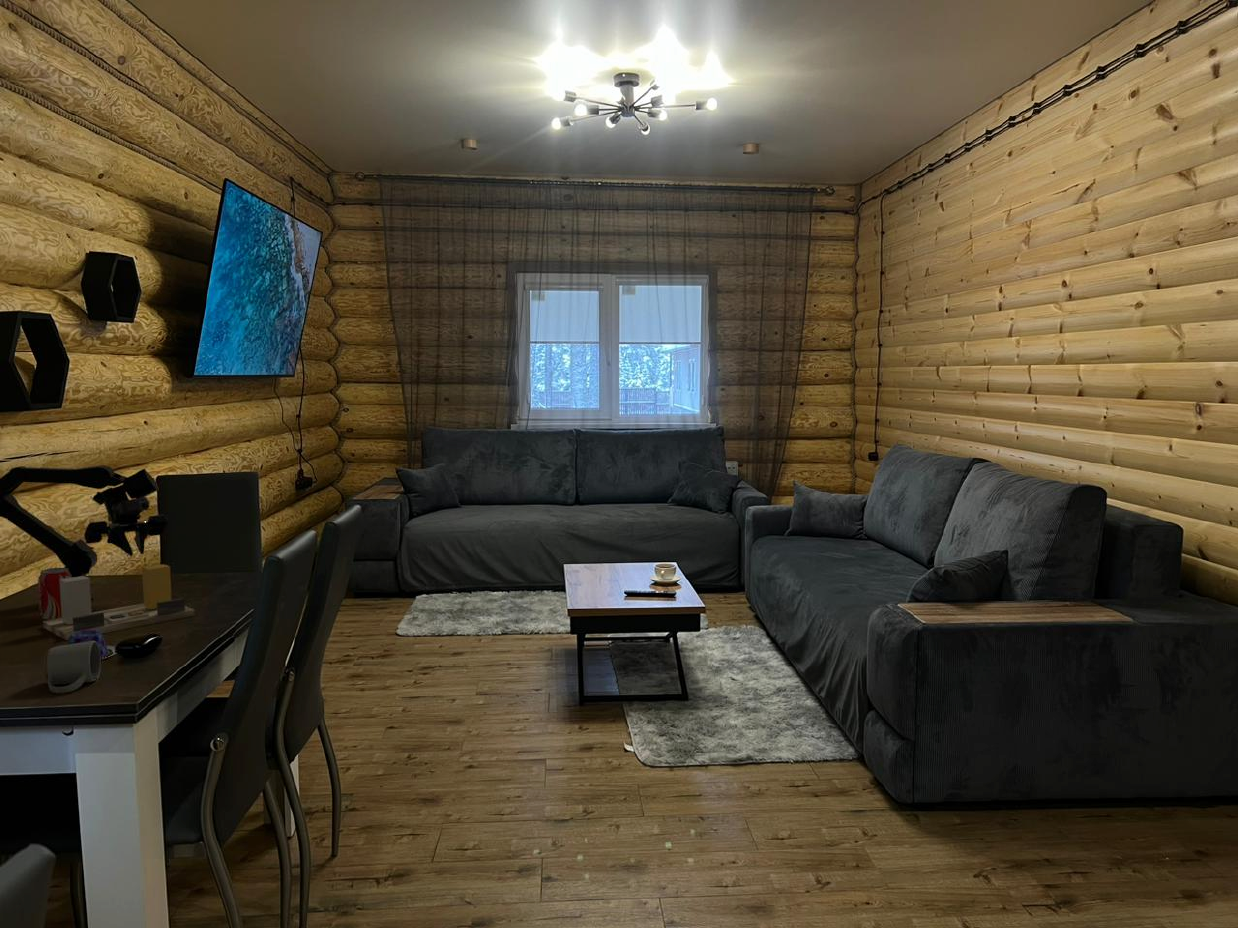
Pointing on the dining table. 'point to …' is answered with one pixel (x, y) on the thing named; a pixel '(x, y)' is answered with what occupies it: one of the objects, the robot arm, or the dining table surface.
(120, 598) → the dining table surface
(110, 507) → the robot arm
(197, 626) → the dining table surface
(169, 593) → the large amber box
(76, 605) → the white tall rectangular block
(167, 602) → the key board
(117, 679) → the dining table surface
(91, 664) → the ceramic mug
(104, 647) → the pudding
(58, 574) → the soda can
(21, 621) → the dining table surface
